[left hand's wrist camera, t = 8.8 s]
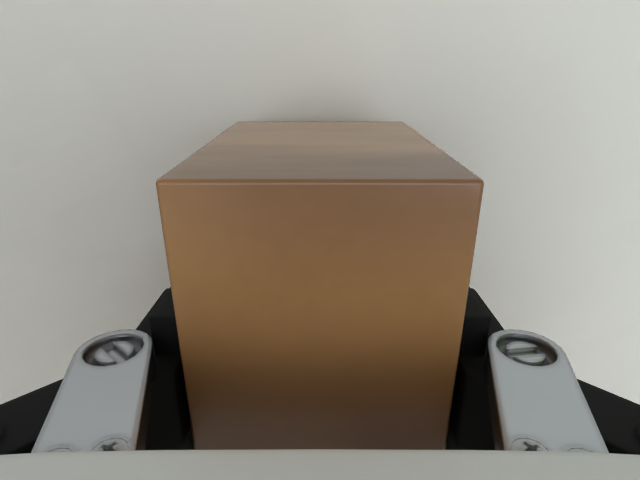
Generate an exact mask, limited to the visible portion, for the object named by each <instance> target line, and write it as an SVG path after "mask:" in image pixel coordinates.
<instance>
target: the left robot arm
mask: <svg viewBox="0 0 640 480" xmlns="http://www.w3.org/2000/svg"><path fill="white" fill-rule="evenodd" d="M0 480H640V405H639V404H636V403H634V402H631V401H629V400H627V399H624V398H622V397H619V396H617V395H615V394H612V393H610V392H607V391H605V390H603V389H600V388H598V387H595V386H593V385H590V384H588V383H586V382H583V381H581V380H578V379H576V376H575V374H574V372H573V369H572V367H571V365H570V363H569V360H568V358H567V356H566V354H565V352H564V351H563V350H562V348H561V347H560V346H558V345H557V344H556V343H555V342H553V341H551V340H549V339H548V338H546V337H544V336H541V335H538V334H535V333H532V332H528V331H523V330H511V329H509V330H504V329H503V327H502V326H501V325H500V323H499V322H498V321H497V319H496V318H495V317H494V315H493V314H492V312H491V311H490V310H489V308H488V307H487V306H486V304H485V303H484V302H483V300H482V299H481V298H480V296H479V295H478V293H477V292H476V291H475V290H474V289H470V287H469V289H468V296H467V303H466V310H465V316H464V323H463V330H462V337H461V344H460V351H459V358H458V364H457V371H456V378H455V385H454V392H453V399H452V406H451V412H450V419H449V426H448V433H447V440H446V447H445V450H362V449H278V450H195V448H194V441H193V434H192V428H191V421H190V414H189V407H188V400H187V393H186V386H185V380H184V373H183V366H182V359H181V352H180V345H179V338H178V332H177V325H176V318H175V311H174V304H173V297H172V290H171V287H170V289H166V290H165V291H164V292H163V293H162V295H161V296H160V297H159V299H158V300H157V302H156V303H155V304H154V306H153V307H152V308H151V310H150V311H149V312H148V314H147V315H146V316H145V318H144V319H143V321H142V322H141V323H140V325H139V326H138V327H137V329H136V330H131V329H129V330H117V331H112V332H108V333H105V334H102V335H99V336H96V337H94V338H92V339H91V340H89V341H87V342H85V343H84V344H83V345H82V346H80V347H79V348H78V350H77V351H76V352H75V354H74V356H73V358H72V360H71V363H70V365H69V367H68V369H67V372H66V374H65V376H64V379H62V380H59V381H57V382H54V383H52V384H49V385H47V386H45V387H42V388H40V389H37V390H35V391H33V392H30V393H28V394H25V395H23V396H21V397H18V398H16V399H13V400H11V401H9V402H6V403H4V404H1V405H0Z"/></svg>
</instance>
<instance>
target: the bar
mask: <svg viewBox="0 0 640 480" xmlns="http://www.w3.org/2000/svg"><path fill="white" fill-rule="evenodd" d="M483 186H484V183H483V180H482V179H480V178H479V177H478V176H476V175H475V174H474V173H472V172H471V171H469V170H468V169H467V168H465V167H464V166H463V165H461V164H460V163H458V162H457V161H456V160H454V159H453V158H452V157H450V156H449V155H447V154H446V153H445V152H443V151H442V150H441V149H439V148H438V147H436V146H435V145H434V144H432V143H431V142H430V141H428V140H427V139H425V138H424V137H423V136H421V135H420V134H418V133H417V132H416V131H414V130H413V129H412V128H410V127H409V126H407V125H406V124H405V123H403V122H237V123H236V124H234V125H233V126H231V127H230V128H229V129H227V130H226V131H225V132H223V133H222V134H220V135H219V136H218V137H216V138H215V139H213V140H212V141H211V142H209V143H208V144H206V145H205V146H204V147H202V148H201V149H199V150H198V151H197V152H195V153H194V154H193V155H191V156H190V157H188V158H187V159H186V160H184V161H183V162H181V163H180V164H179V165H177V166H176V167H174V168H173V169H172V170H170V171H169V172H167V173H166V174H165V175H163V176H162V177H161V178H159V179H158V180H157V182H156V187H157V194H158V201H159V208H160V215H161V222H162V229H163V235H164V242H165V249H166V256H167V263H168V270H169V277H170V283H171V290H172V297H173V304H174V311H175V318H176V325H177V332H178V338H179V345H180V352H181V359H182V366H183V373H184V380H185V386H186V393H187V400H188V407H189V414H190V421H191V428H192V434H193V441H194V448H195V450H278V449H362V450H445V447H446V440H447V433H448V426H449V419H450V412H451V406H452V399H453V392H454V385H455V378H456V371H457V364H458V358H459V351H460V344H461V337H462V330H463V323H464V316H465V310H466V303H467V296H468V289H469V282H470V275H471V268H472V262H473V255H474V248H475V241H476V234H477V227H478V220H479V213H480V207H481V200H482V193H483Z"/></svg>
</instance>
